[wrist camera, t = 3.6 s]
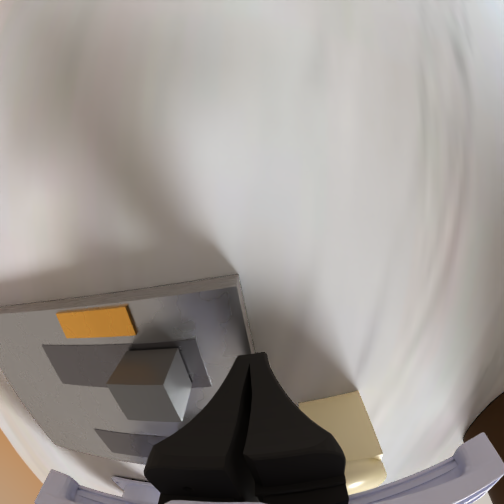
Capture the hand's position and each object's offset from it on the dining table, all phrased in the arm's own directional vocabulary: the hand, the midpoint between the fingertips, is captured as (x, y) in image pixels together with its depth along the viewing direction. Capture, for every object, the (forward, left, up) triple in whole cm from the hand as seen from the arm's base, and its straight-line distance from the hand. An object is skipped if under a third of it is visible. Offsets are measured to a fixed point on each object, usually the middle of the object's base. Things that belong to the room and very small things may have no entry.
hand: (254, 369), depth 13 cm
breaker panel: (-3, +11, -2) cm, 12 cm away
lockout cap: (-7, -4, -2) cm, 9 cm away
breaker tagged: (0, +5, -1) cm, 5 cm away
